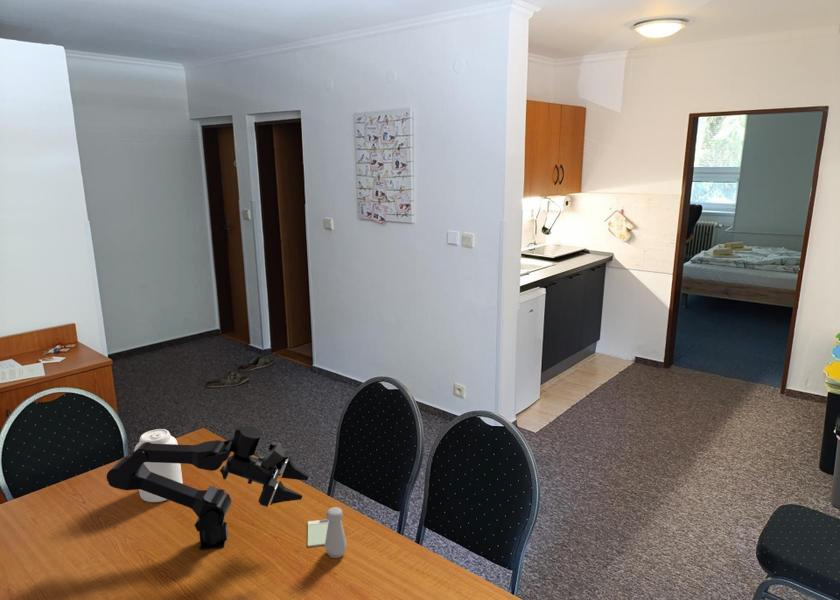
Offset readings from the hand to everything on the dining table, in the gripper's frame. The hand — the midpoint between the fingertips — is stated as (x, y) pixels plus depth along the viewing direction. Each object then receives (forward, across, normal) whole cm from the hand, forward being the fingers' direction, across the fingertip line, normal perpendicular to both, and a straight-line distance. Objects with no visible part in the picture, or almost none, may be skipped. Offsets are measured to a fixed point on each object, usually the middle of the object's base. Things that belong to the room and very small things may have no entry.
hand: (305, 487), depth 154 cm
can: (-40, +24, +35) cm, 58 cm away
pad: (+10, +3, +14) cm, 17 cm away
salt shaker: (+14, -5, +12) cm, 19 cm away
